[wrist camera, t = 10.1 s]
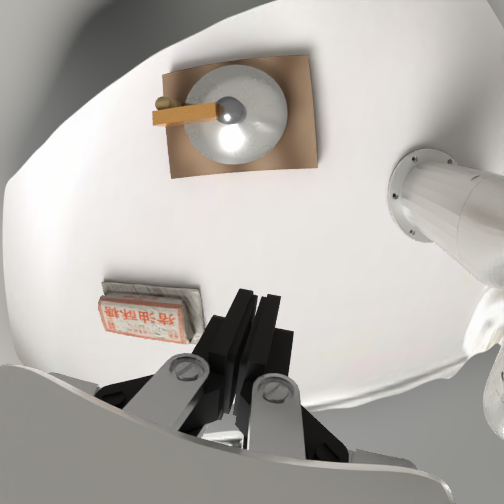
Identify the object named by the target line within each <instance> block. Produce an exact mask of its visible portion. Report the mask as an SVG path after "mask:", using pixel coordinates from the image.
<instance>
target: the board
mask: <svg viewBox="0 0 504 504" xmlns="http://www.w3.org/2000/svg"><path fill="white" fill-rule="evenodd" d="M228 65H247V66H251V67H254V68H257V69H259V70H261V71H263V72H265V73H266V74H268V75H269V76H270V77H272V78H273V79H274V80H275V81H276V83H277V84H278V85H279V87H280V88H281V90H282V92H283V94H284V96H285V99H286V103H287V110H288V118H287V124H286V128H285V131H284V133H283V135H282V137H281V139H280V140H279V142H278V143H277V144H276V146H275V147H274V148H273V149H272V150H271V151H270V152H268V153H267V154H266V155H264V156H262V157H261V158H259V159H257V160H254V161H251V162H248V163H244V164H223V163H219V162H216V161H213V160H211V159H209V158H207V157H206V156H204V155H203V154H201V153H200V152H199V151H198V150H197V149H196V148H195V147H194V146H193V144H192V143H191V142H190V140H189V138H188V136H187V134H186V131H185V127H184V125H178V126H171V127H166V135H167V145H168V155H169V164H170V173H171V179H174V178H182V177H191V176H200V175H210V174H221V173H232V172H245V171H260V170H278V169H303V168H318V166H317V148H316V133H315V119H314V107H313V97H312V86H311V77H310V68H309V60H308V55H293V56H275V57H263V58H252V59H244V60H236V61H229V62H222V63H216V64H210V65H204V66H199V67H194V68H189V69H184V70H180V71H176V72H171V73H167V74H163V75H162V79H163V96H164V97H160V98H158V99H157V100H156V103H155V106H156V108H157V109H158V110H163V109H169V108H175V107H182V106H184V105H185V102H186V99H187V96H188V94H189V92H190V91H191V89H192V88H193V86H194V85H195V84H196V83H197V82H198V81H199V80H200V79H201V78H202V77H203V76H204V75H206V74H207V73H209V72H211V71H212V70H215V69H217V68H220V67H223V66H228Z"/></svg>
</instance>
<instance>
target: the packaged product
mask: <svg viewBox="0 0 504 504" xmlns="http://www.w3.org/2000/svg"><path fill="white" fill-rule="evenodd" d="M102 287H103V291H104V294H105V296H103V295H102V296H101V297H100V299H99V301H98V310H99V312H100V316H101V320H102V323H103V326H104V329H105V331H109V332H113V333H118V334H124V335H128V336H135V337H140V338H145V339H152V340H159V341H166V342H174V343H179V344H190V343H191V344H197V343H198V341H199V339H200V338H201V336H202V334H203V332H204V324H203V313H202V302H201V297H200V292H199V289H190V288H171V287H160V286H149V285H142V284H125V283H115V282H102Z"/></svg>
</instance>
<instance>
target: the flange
mask: <svg viewBox="0 0 504 504" xmlns="http://www.w3.org/2000/svg"><path fill="white" fill-rule="evenodd" d="M152 113H153V126H164V127H171V126H178V125H184V127H185V131H186V134H187V136H188V138H189V140H190V142H191V143H192V144H193V146H194V147H195V148H196V149H197V150H198V151H199V152H200V153H201V154H203V155H204V156H206V157H207V158H209V159H211V160H213V161H216V162H219V163H223V164H244V163H248V162H251V161H254V160H257V159H259V158H261V157H262V156H264V155H266V154H267V153H268V152H270V151H271V150H272V149H273V148H274V147H275V146H276V144H277V143H278V142H279V140H280V139H281V137H282V135H283V133H284V131H285V128H286V124H287V118H288V110H287V103H286V99H285V96H284V94H283V92H282V90H281V88H280V87H279V85H278V84H277V83H276V81H275V80H274V79H273V78H272V77H270V76H269V75H268V74H266V73H265V72H263V71H261V70H259V69H257V68H254V67H251V66H247V65H228V66H223V67H220V68H217V69H215V70H212V71H211V72H209V73H207V74H206V75H204V76H203V77H202V78H201V79H200V80H199V81H198V82H197V83H196V84H195V85H194V86H193V88H192V89H191V91H190V92H189V94H188V96H187V99H186V102H185V105H184V106H182V107H175V108H169V109H163V110H158V111H152Z"/></svg>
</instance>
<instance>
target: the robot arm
mask: <svg viewBox="0 0 504 504" xmlns="http://www.w3.org/2000/svg"><path fill="white" fill-rule="evenodd" d="M412 157H413V158H414V160H413V161H412ZM447 161H448V163H447ZM394 193H395V196H394V197H393V196H392V195H393V194H394ZM388 204H389V209H390V213H391V216H392V218H393V220H394V222H395V223H396V225H397V226H398V227H399V229H400V230H401V231H402V232H403V233H404V234H406V235H407V236H408V237H410V238H411V239H414V240H416V241H419V242H423V243H432V242H434V243H435V244H437V245H438V246H439V247H440V248H441V249H443V250H444V251H445V252H446V253H447V254H449V255H450V256H451V257H452V258H453V259H454V260H455V261H457V262H458V263H459V264H460V265H461V266H462V267H463V268H465V269H466V270H467V271H468V272H469V273H470V274H472V275H473V276H474V277H475V278H476V279H477V280H479V281H480V282H481V283H483V284H485V285H487V286H489V287H493V288H504V176H502V175H498V174H494V173H490V172H486V171H482V170H477V169H473V168H468V167H463V166H459V164H458V163H457V162H456V161H455V160H454V159H453V158H452V157H451V156H449V155H448V154H446V153H444V152H442V151H440V150H436V149H419V150H416V151H414V152H411V153H410V154H408V155H407V156H405V157H404V158H403V159H402V160H401V161H400V162H399V163H398V165H397V166H396V168H395V169H394V171H393V174H392V176H391V178H390V182H389V187H388ZM410 230H411V232H410ZM257 299H258V296H257V295H253V291H251V290H246V289H241V288H240V289H239V291H238V293H237V295H236V297H235V299H234V301H233V303H232V305H231V307H230V309H229V311H228V313H227V315H226V317H221V316H217V315H213V317H212V318H211V320H210V322H209V323H208V325H207V327H206V329H205V330H204V332H203V334H202V336H201V338H200V339H199V341H198V343H197V345H196V347H195V348H194V350H193V352H192V354H188V353H183V354H178V355H175V356H173V357H171V358H170V359H169V360H167V362H166V363H165V364H164V365H163V366H162V367H161V368H160V369H159V370H158V371H157V372H156V373H155V374H154V375H150V376H146V377H142V378H137V379H133V380H129V381H125V382H120V383H116V384H111V385H108V386H105V387H103V388H100V387H99V385H98V384H95V383H91V382H87V381H83V380H79V379H76V378H72V377H68V376H65V375H62V374H58V373H52V372H51V373H45V372H43V371H40V370H37V369H34V368H31V367H27V366H21V365H15V364H6V365H1V366H0V504H456V503H455V500H454V497H453V494H452V492H451V490H450V488H449V487H448V485H447V484H446V483H445V482H444V481H443V480H441V479H440V478H438V477H436V476H434V475H432V474H430V473H426V472H423V471H419V470H417V468H416V466H415V465H414V464H413V463H412V462H411V461H409V460H406V459H403V458H397V457H391V456H386V455H381V454H377V453H372V452H368V451H363V450H359V449H355V451H351V450H347V448H346V447H345V446H344V445H343V443H342V442H340V441H339V440H338V439H337V438H336V437H335V436H334V435H333V434H332V433H330V432H329V431H328V430H327V429H326V428H325V427H324V426H323V425H322V424H321V423H320V422H319V421H318V420H317V419H316V418H314V417H313V416H312V415H311V414H310V413H309V412H308V411H307V410H306V409H305V408H304V407H303V406H302V405H301V401H300V391H299V388H298V385H297V384H296V383H295V381H293V380H292V379H291V378H289V377H288V372H289V365H290V358H291V350H292V342H293V334H294V331H289V330H284V329H278V328H275V325H276V320H277V315H278V310H279V305H280V299H281V296H276V295H271V294H268V295H267V297H263V296H262V297H261V300H260V303H259V306H258V309H257V312H256V305H257ZM255 312H256V315H255ZM235 394H236V397H235ZM234 397H235V404H234V412H233V415H235V416H237V417H236V423H235V425H236V426H237V427H238V428H239V430H240V431H241V432H242V434H243V438H242V449H241V448H237V447H232V446H228V445H224V444H220V443H216V442H213V441H209V440H205V439H202V438H201V437H202V436H203V434H204V433H205V431H206V429H207V427H208V423H211V422H214V421H216V420H221V419H222V416H223V413H227V414H229V412H230V409H231V406H232V403H233V400H234ZM483 409H484V414H485V417H486V420H487V422H488V424H489V425H490V427H491V428H492V430H493V431H494V432H495V433H496V434H497V435H498V436H499V437H500V438H502V439H503V440H504V340H503V343H502V346H501V348H500V350H499V353H498V355H497V358H496V360H495V363H494V365H493V367H492V370H491V372H490V375H489V377H488V380H487V383H486V386H485V390H484V395H483Z"/></svg>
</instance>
